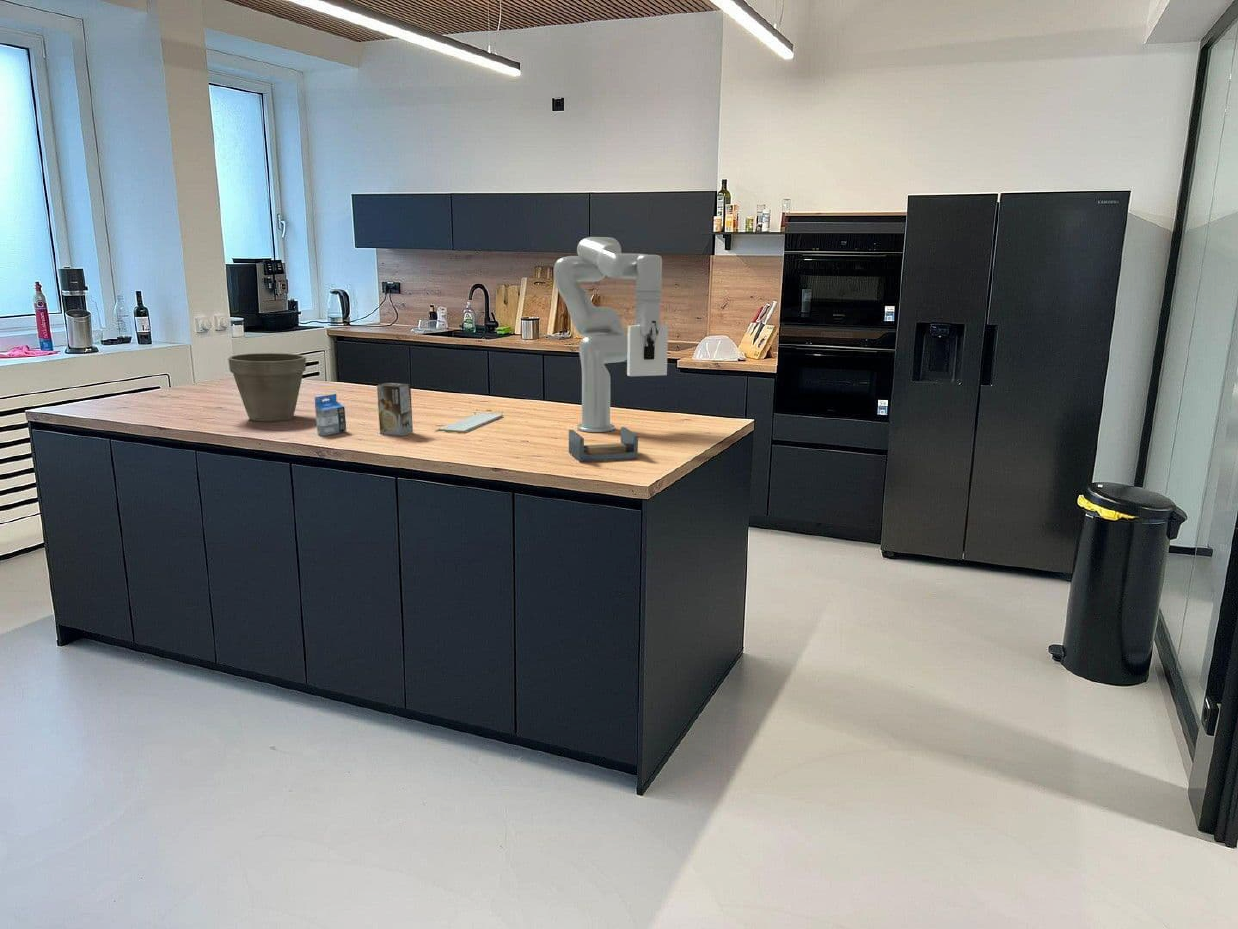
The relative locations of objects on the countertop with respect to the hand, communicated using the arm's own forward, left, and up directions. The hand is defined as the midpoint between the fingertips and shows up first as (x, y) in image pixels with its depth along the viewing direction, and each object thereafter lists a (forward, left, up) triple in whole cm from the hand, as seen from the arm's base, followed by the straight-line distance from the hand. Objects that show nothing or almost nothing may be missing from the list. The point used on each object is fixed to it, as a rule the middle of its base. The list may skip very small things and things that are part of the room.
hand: (647, 358), depth 263 cm
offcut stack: (+13, -17, -27) cm, 35 cm away
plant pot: (-74, -113, -27) cm, 138 cm away
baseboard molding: (-48, -48, -28) cm, 73 cm away
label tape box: (-42, -93, -27) cm, 106 cm away
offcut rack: (+11, -17, -27) cm, 34 cm away
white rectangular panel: (0, 0, -5) cm, 5 cm away
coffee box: (-37, -73, -27) cm, 86 cm away
